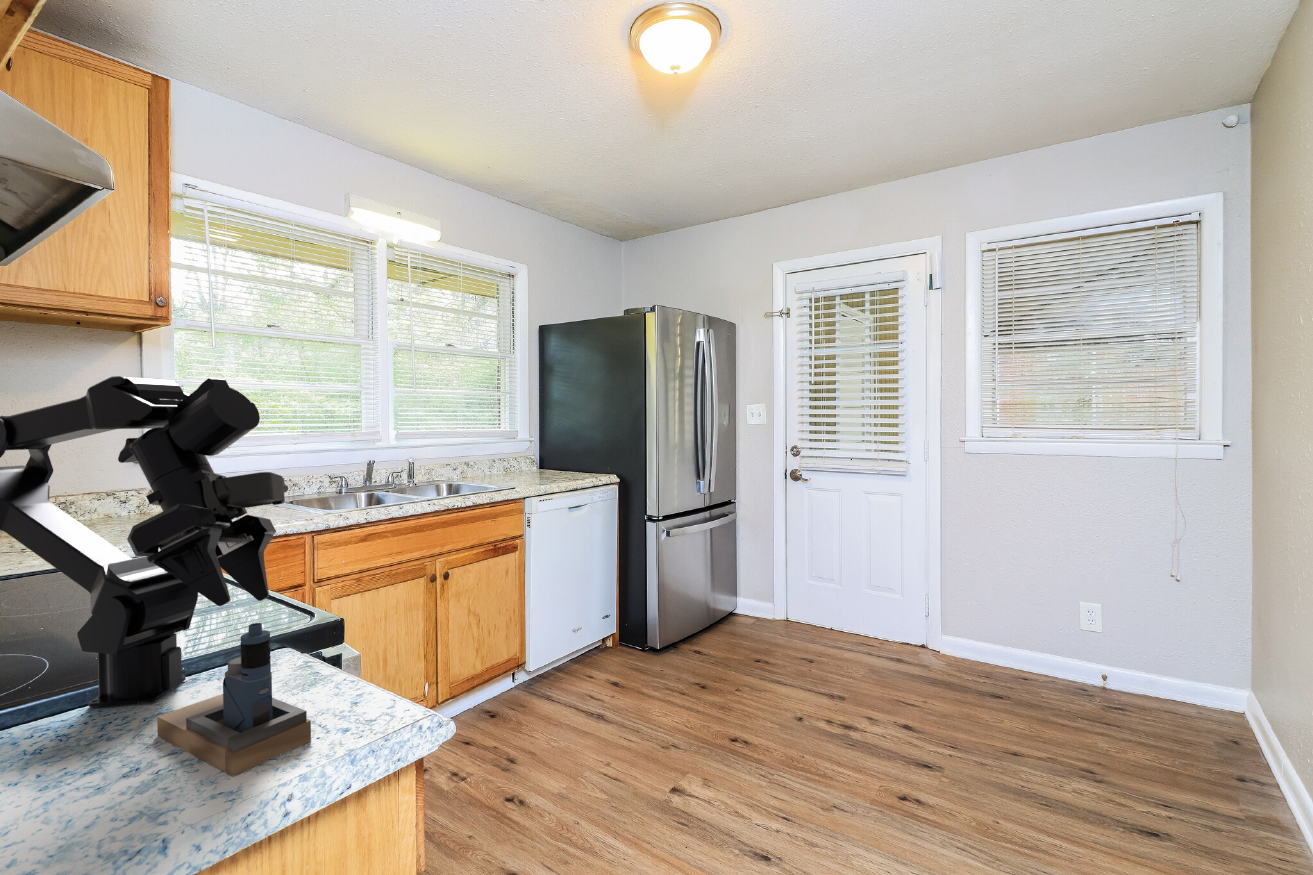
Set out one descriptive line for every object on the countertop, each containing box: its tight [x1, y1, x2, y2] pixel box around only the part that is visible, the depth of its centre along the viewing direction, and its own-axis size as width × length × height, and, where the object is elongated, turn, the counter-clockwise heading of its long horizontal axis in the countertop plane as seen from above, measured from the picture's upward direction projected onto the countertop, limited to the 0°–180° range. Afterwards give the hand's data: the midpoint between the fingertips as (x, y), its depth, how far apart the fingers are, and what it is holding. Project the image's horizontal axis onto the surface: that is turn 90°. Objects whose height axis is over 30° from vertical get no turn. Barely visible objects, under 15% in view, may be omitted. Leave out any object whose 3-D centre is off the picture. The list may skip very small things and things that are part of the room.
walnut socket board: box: [156, 693, 312, 777], centre depth 61 cm, size 14×7×3 cm, turn 60°
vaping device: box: [222, 622, 273, 733], centre depth 59 cm, size 3×5×12 cm, turn 62°
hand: (246, 601), depth 68 cm, fingers open, 9 cm apart
